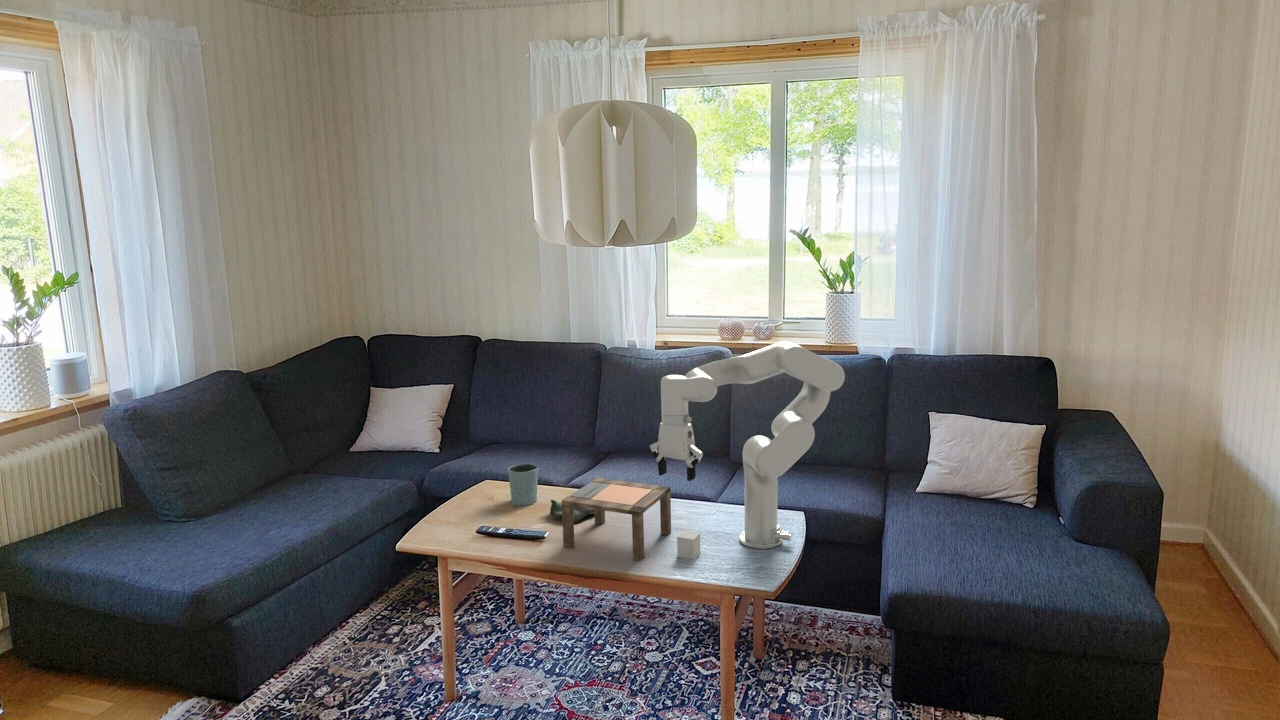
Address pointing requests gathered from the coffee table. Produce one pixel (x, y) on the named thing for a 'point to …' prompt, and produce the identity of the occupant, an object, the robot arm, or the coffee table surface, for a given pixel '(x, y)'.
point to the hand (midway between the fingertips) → (676, 476)
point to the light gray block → (688, 544)
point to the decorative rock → (577, 514)
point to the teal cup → (523, 483)
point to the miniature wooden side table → (636, 512)
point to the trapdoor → (610, 494)
